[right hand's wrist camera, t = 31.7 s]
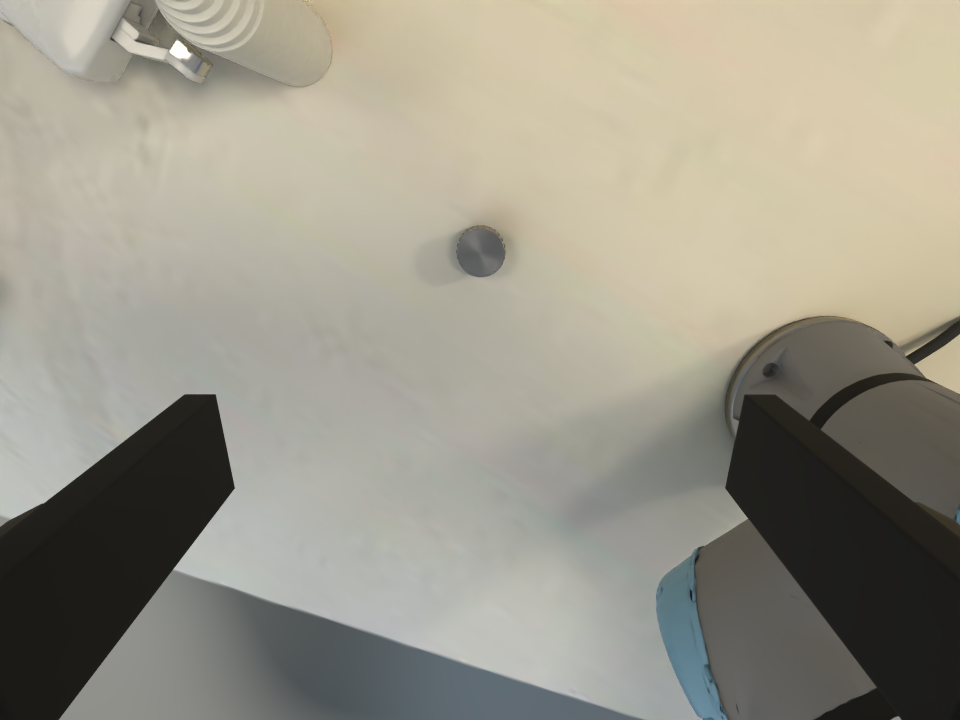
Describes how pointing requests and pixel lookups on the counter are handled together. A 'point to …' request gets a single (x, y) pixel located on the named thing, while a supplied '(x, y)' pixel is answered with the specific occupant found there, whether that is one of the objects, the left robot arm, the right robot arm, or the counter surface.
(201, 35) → the bottle
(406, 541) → the counter surface
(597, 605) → the counter surface
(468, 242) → the cap
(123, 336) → the counter surface
